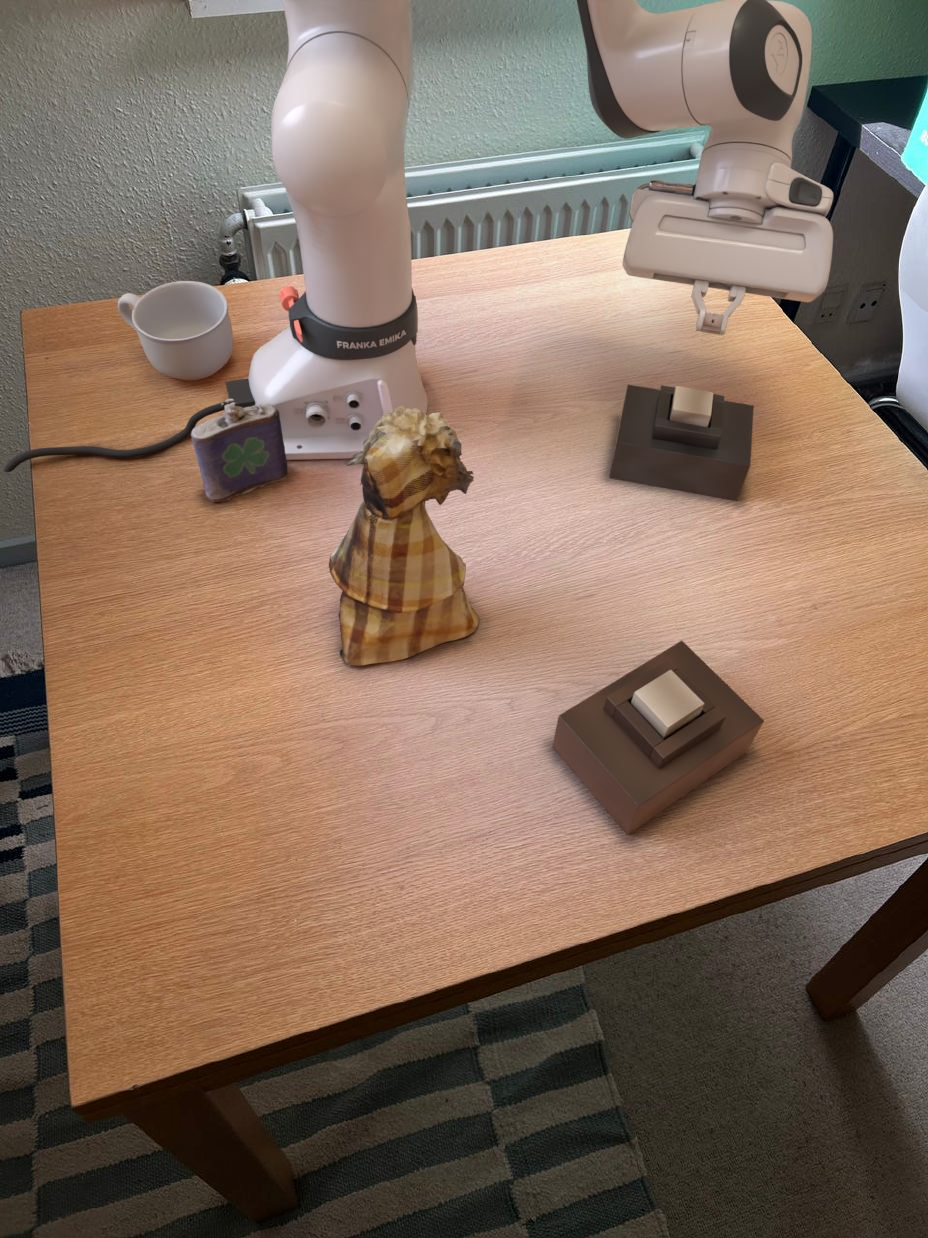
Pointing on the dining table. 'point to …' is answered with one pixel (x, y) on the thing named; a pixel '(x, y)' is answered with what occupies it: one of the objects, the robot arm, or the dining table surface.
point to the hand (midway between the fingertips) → (709, 332)
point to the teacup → (181, 328)
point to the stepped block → (683, 445)
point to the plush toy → (402, 544)
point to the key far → (691, 406)
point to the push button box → (653, 739)
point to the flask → (240, 450)
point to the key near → (667, 703)
